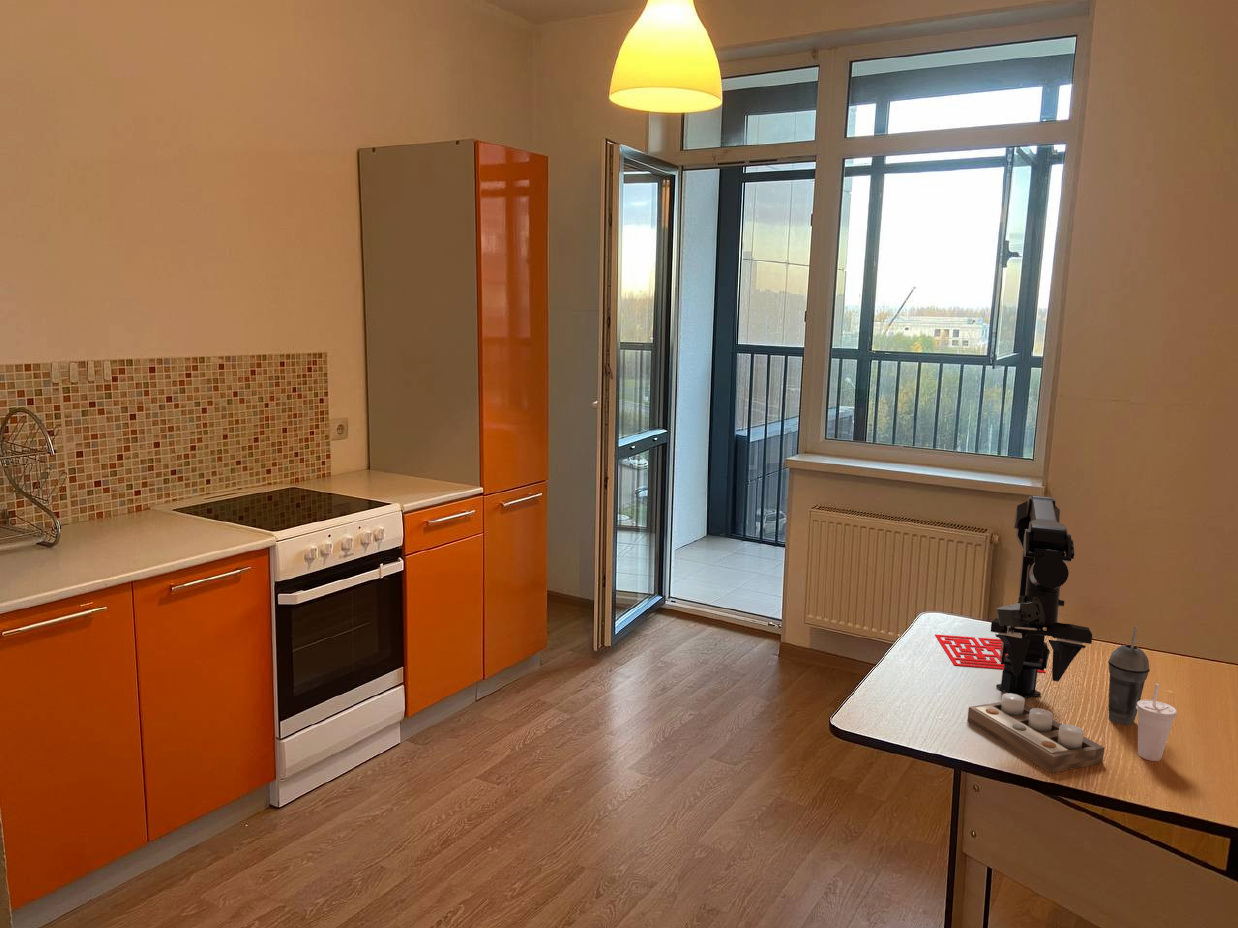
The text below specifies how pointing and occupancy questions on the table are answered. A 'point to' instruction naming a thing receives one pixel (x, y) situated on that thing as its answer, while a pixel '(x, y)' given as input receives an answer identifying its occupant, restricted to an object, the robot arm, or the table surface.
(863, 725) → the table surface
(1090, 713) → the table surface
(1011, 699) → the button
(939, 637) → the maze puzzle
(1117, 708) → the beverage cup
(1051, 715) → the button middle
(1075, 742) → the button
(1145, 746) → the smoothie
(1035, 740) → the button board
